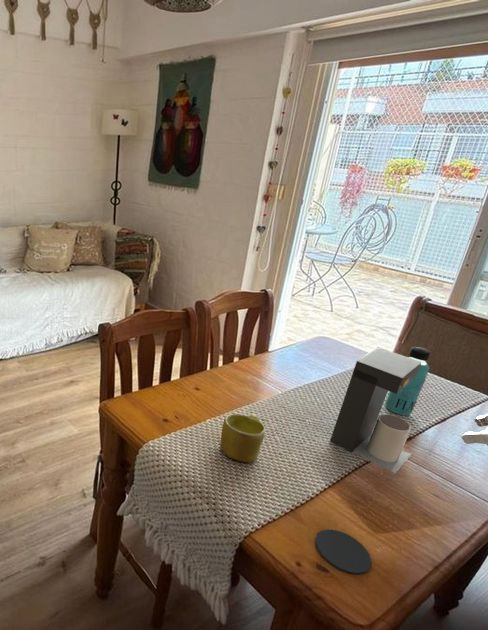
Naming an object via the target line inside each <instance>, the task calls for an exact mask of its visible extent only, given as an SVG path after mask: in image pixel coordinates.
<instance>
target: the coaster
mask: <svg viewBox="0 0 488 630" xmlns="http://www.w3.org/2000/svg"><path fill="white" fill-rule="evenodd" d="M314 541H315V542H314V544H315V547H316V550H317V551H318V553H319V554H320V556H321V557H322V558H323V559H324V561H326V562H327V563H328V564H329V565H330V566H331V567H333V568H334V569H337V570H339V571H341V572H343V573H347V574H350V575H363V574H366V573H368V571H370V569H371V566H372V558H371V556H370V553H369V551H368V549H367V548H366V547H365V546H364V545H363V544H362V543H361V542H360V541H359V540H357V538H354V537H353V536H352V535H350V534H348V533H345V532H343V531H340V530H337V529H330V528H329V529H328V528H327V529H323V530H321V531H319V532H318V533H317V534H316V535H315V540H314Z"/></svg>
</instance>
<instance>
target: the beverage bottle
mask: <svg viewBox="0 0 488 630" xmlns="http://www.w3.org/2000/svg"><path fill="white" fill-rule="evenodd" d="M430 354H431V352H430V351H429V350H428V349H427V348H424V347H420V346H412V347H411V348H410V351H409V352H408V355H409V357H408V358H411V359H414V360H417V361H420V362H422V363H421V366H420V368H419V371H418V373H417V376H416V377H415V378H414V379H413V380H412V381H411V382H410V383H409V384H407V385H406V386H405V387H404V388H403V389H402V390H401V391H399V392H398V393H397V394H395V393H393V392H390V391H388V393H387V396H386V399H385V400H384V402H385V403H384V406H385V408H386V409H387V410H389V411H391V412H392V413H394V414H397V415H401V416H409V415H411V413H413V411H414V409H415V406H416V405H417V402H418V398H419V397H420V393H421V391H422V389H423V387H424V385H425V383H426V379H427V377H428V373H429V371H430V369H431V368H430V366H429V363H427V362H426V361H428V360H429V358H430Z"/></svg>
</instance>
